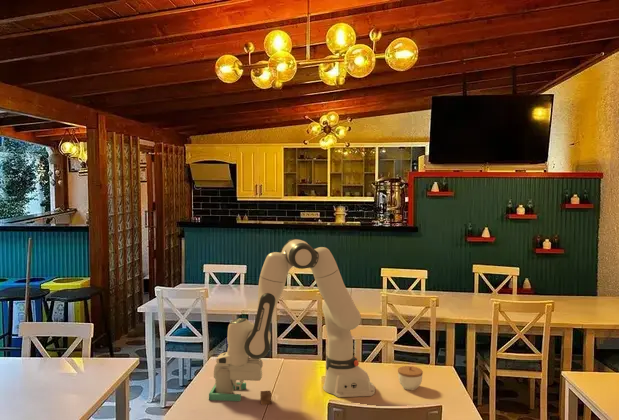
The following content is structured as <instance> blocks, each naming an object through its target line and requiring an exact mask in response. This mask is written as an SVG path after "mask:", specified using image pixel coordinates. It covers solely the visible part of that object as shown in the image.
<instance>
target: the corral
mask: <svg viewBox="0 0 619 420" xmlns="http://www.w3.org/2000/svg"><path fill="white" fill-rule="evenodd" d="M236 383H237V385H240V381H238V382H237V381H236ZM246 389H247V382H243V383H242V385H241V390H246ZM233 390H235V386H234V384H233ZM241 399H242V395H241V393H240V394H239V393H231V394H222V393H216V392H215V384H214V385H213V387H212V388H211V390H210V392H209V393H208V401H227V402H241V401H242V400H241Z"/></svg>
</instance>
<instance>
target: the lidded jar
mask: <svg viewBox="0 0 619 420" xmlns="http://www.w3.org/2000/svg"><path fill="white" fill-rule="evenodd" d="M423 373H424V371H423V370H422V369H421V368H419V367H417V366H411V365H405V366H399V367H398V369H397V377H398V382H399V384H400V385H401V387H402V389H404V390H407V391H415V390H417V389H418V388H419V387H420V385H421V384H422V382H423Z"/></svg>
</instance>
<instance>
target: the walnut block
mask: <svg viewBox="0 0 619 420" xmlns="http://www.w3.org/2000/svg"><path fill="white" fill-rule="evenodd" d="M259 399H260V404H261V405H262V406H263V405H272V392H271V390H261V391H260V398H259Z"/></svg>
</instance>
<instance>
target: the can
mask: <svg viewBox="0 0 619 420" xmlns="http://www.w3.org/2000/svg"><path fill="white" fill-rule="evenodd" d="M228 369H229V368H225V369H223V368H219V370H218V371H217V378H216V379H215V378H214V381H215V384H214V385H215V392H216V393H222V394H234V389H233V383H232V380H230V371H229V370H228Z"/></svg>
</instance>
